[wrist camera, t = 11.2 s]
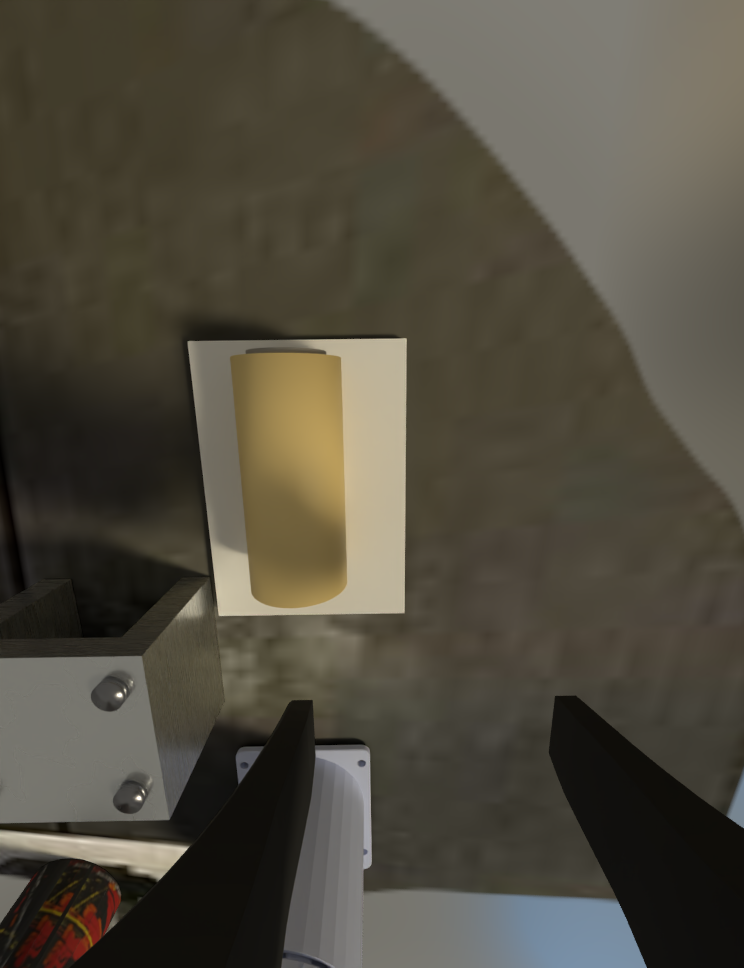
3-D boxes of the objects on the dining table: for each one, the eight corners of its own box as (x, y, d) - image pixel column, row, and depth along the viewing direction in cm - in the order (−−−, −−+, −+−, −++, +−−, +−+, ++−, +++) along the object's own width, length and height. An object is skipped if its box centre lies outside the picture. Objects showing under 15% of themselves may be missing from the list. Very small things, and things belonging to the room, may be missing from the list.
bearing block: (224, 701, 23) (164, 830, 16) (71, 704, 23) (-54, 834, 16) (209, 576, 21) (135, 663, 14) (43, 579, 21) (-111, 667, 14)
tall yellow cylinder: (349, 562, 20) (344, 607, 16) (265, 563, 20) (237, 609, 16) (344, 356, 18) (336, 344, 14) (248, 357, 18) (211, 346, 14)
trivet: (403, 607, 22) (404, 613, 21) (223, 609, 21) (218, 615, 21) (405, 340, 18) (406, 338, 18) (193, 342, 18) (187, 341, 18)
